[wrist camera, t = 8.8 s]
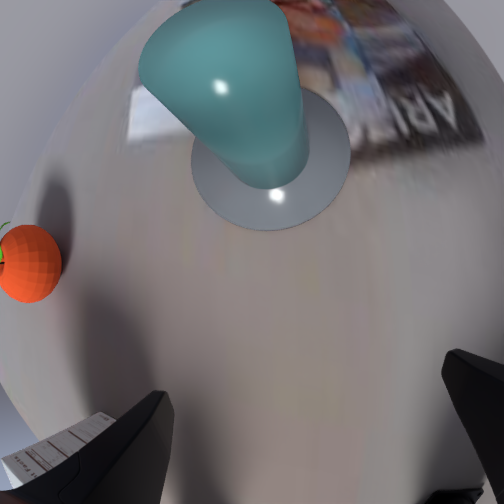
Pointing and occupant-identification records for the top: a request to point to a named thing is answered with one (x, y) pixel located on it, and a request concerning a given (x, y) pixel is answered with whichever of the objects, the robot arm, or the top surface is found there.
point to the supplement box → (53, 449)
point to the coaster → (290, 195)
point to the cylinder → (233, 86)
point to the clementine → (29, 263)
